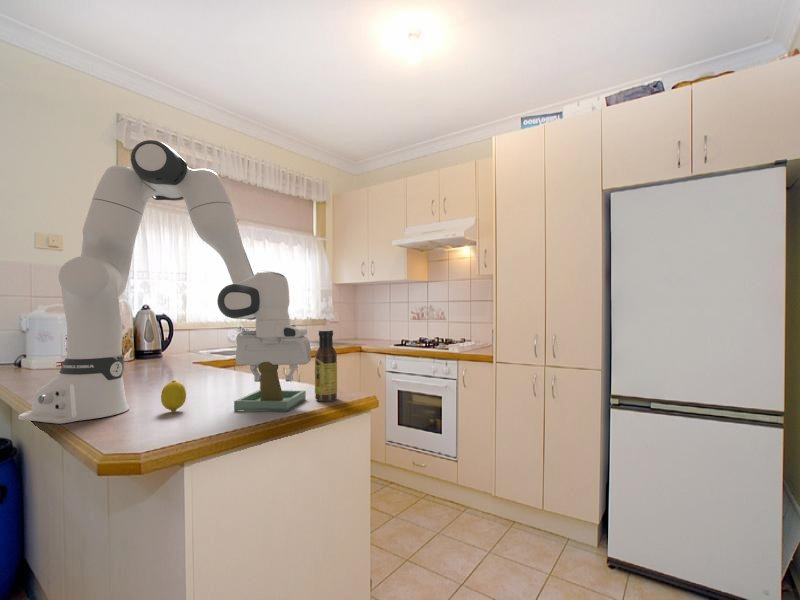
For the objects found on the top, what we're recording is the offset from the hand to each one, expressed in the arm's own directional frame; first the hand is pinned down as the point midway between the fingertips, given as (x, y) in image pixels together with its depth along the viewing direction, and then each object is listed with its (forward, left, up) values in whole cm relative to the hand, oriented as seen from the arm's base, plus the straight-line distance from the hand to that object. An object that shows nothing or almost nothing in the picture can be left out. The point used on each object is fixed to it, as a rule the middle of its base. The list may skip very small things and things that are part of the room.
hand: (273, 381), depth 109 cm
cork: (0, 0, -5) cm, 5 cm away
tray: (-1, 0, -6) cm, 6 cm away
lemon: (-23, -9, -7) cm, 25 cm away
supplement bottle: (-8, +14, -7) cm, 17 cm away
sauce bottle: (+12, +7, -7) cm, 16 cm away
